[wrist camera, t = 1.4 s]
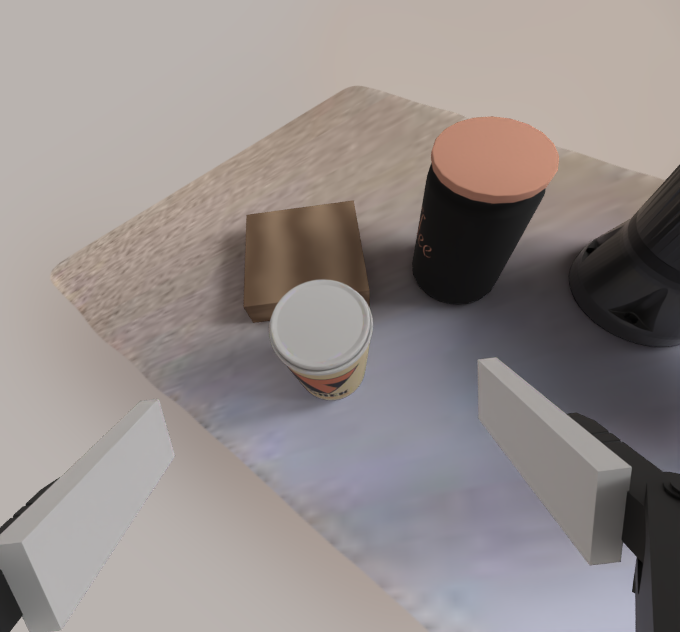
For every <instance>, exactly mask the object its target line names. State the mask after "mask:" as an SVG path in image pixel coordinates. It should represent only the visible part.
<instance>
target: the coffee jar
mask: <svg viewBox="0 0 680 632" xmlns="http://www.w3.org/2000/svg"><path fill="white" fill-rule="evenodd" d="M431 161H432V163H431V166H430V169H429V172H428V175H427V180H426V186H425V192H424V198H423V204H422V209H421V215H420V221H419V227H418V233H417V239H416V245H415V250H414V256H413V262H412V267H413V275H414V277H415V279H416V281H417V283H418V285H419V286H420V287H421V288H422V289H423V290H424V291H425V292H426V293H427V294H428V295H429V296H431V297H433V298H435V299H437V300H438V301H441V302H446V303H450V304H466V303H469V302H473V301H476V300H479V299H481V298H482V297H483V296H485V295H486V294H488V293H489V292H490V291H491V289H492V288H493V286H494V285H495V283H496V281H497V280H498V278H499V276H500V274H501V272H502V271H503V269H504V267H505V265H506V263H507V261H508V260H509V258H510V256H511V254H512V252H513V251H514V249H515V247H516V245H517V243H518V242H519V240H520V238H521V236H522V234H523V233H524V231H525V229H526V227H527V225H528V223H529V222H530V220H531V218H532V216H533V214H534V213H535V211H536V209H537V207H538V205H539V204H540V202H541V200H542V198H543V196H544V194H545V188H546V187H547V185H548V184H549V182H550V181H551V179H552V178H553V177H554V175H555V174H556V172H557V171H558V162H559V155H558V152H557V150H556V148H555V146H554V144H553V143H552V142H551V140H550V139H549V138H547V136H546V135H545V134H543V133H542V132H541V131H539V130H537V129H535V128H534V127H532V126H530V125H528V124H525V123H522V122H519V121H516V120H513V119H508V118H500V117H478V118H472V119H467V120H464V121H460V122H457V123H455V124H454V125H452V126H450V127H448V128H446V129H445V130H444V131H443V132H442V133H441V134H440V135H439V136H438V137H437V138H436V140H435V143H434V146H433V149H432V152H431Z"/></svg>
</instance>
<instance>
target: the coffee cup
mask: <svg viewBox="0 0 680 632" xmlns="http://www.w3.org/2000/svg"><path fill="white" fill-rule="evenodd" d="M372 332H373V319H372V314H371V311H370V308H369V306H368V304H367V302H366V301H365V300H364V298H363V297H362V296H361V295H360V294H359V293H358V292H357V291H355V290H354V289H352V288H351V287H349V286H348V285H346V284H343V283H341V282H338V281H333V280H313V281H309V282H305V283H303V284H300V285H298V286H296V287H294V288H293V289H291V290H290V291H289V292H287V293H286V294H285V295H284V296H283V297H282V298H281V299H280V301H279V302H278V304H277V305H276V307H275V309H274V311H273V314H272V316H271V319H270V324H269V337H270V341H271V345H272V347H273V349H274V351H275V353H276V355H277V356H278V357H279V358H280V360H281V361H282V362H283V363H285V364H286V365H287V367H288V368H289V369H290V370H291V372H292V373H293V374H294V375H295V376H296V378H297V379H298V380H299V381H300V382H301V384H302V385H303V386H304V387H305V388H306V389H307V390H308V391H309V392H310V393H311V394H313V395H314V396H316V397H318V398H321V399H324V400H338V399H342V398H345V397H347V396H349V395H350V394H352V393H353V392H354V391H355V390H356V389H357V388H358V387H359V386H360V384H361V382H362V380H363V378H364V374H365V369H366V363H367V357H368V351H369V344H370V340H371V336H372Z"/></svg>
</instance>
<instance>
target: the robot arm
mask: <svg viewBox="0 0 680 632" xmlns="http://www.w3.org/2000/svg"><path fill="white" fill-rule="evenodd" d="M569 281H570V287H571V291H572V293H573V295H574V298H575V299H576V301H577V303H578V304H579V306H580V307H581V308H582V310H583V311H584V312H585V313H586V314H587V315H588V316H589V317H590V318H591V319H592V320H593V321H594V322H596V323H597V324H598V325H599V326H601V327H602V328H604V329H605V330H607V331H609V332H610V333H612V334H614V335H616V336H618V337H620V338H623V339H625V340H628V341H631V342H634V343H638V344H642V345H648V346H659V347H664V346H674V345H679V344H680V165H679V166H678V167H677V168H676V169H675V171H674V172H673V173H672V174H671V175H670V176H669V177H668V178H667V179H666V181H665V182H664V183H663V184H662V185H661V186H660V187H659V188H658V189H657V190H656V191H655V193H654V194H653V195H652V196H651V197H650V198H649V199H648V200H647V201H646V202H645V203H644V205H643V206H642V207H641V208H640V209H639V210H638V211H637V213H636V214H635V215H634V216H633V217H632V218H631V219H629V220H627V221H626V222H624V223H622V224H620V225H619V226H617V227H615V228H613V229H612V230H610V231H608V232H607V233H605V234H603V235H601V236H600V237H598V238H596V239H594V240H593V241H592V242H590V243H589V244H588V245H587V246H586V247H585V248H584V249H583V250H582V251H581V253H580V254H579V255H578V256H577V258H576V259H575V260H574V262H573V264H572V266H571V269H570V274H569ZM478 419H479V420H480V422H481V423H482V424H483V426H484V427H485V428H486V429H487V431H488V432H489V433H490V435H491V436H492V437H493V439H494V440H495V441H496V443H497V444H498V445H499V447H500V448H501V449H502V451H503V452H504V453H505V455H506V456H507V457H508V458H509V460H510V461H511V462H512V464H513V465H514V466H515V468H516V469H517V470H518V472H519V473H520V474H521V476H522V477H523V478H524V480H525V481H526V482H527V483H528V485H529V486H530V487H531V489H532V490H533V491H534V493H535V494H536V495H537V497H538V498H539V499H540V501H541V502H542V503H543V505H544V506H545V507H546V509H547V510H548V511H549V512H550V514H551V515H552V516H553V518H554V519H555V520H556V522H557V523H558V524H559V526H560V527H561V528H562V530H563V531H564V532H565V534H566V535H567V536H568V538H569V539H570V540H571V541H572V543H573V544H574V545H575V547H576V548H577V549H578V551H579V552H580V553H581V555H582V556H583V557H584V559H585V560H586V561H587V563H588V564H589V565H598V564H606V563H614V562H621V554H622V546H623V542H624V543H625V544H626V546H627V547H628V548H629V549H630V550H631V551H632V552H633V553H634V554H635V555H636V556H637V559H636V567H635V574H634V581H633V589H632V592H634V593H635V603H636V632H680V474H678V473H672V472H662V471H661V470H660V469H658V468H657V467H656V466H654V465H653V464H652V463H650V462H649V461H648V460H646V459H645V458H644V457H642V456H641V455H640V454H638V453H637V452H636V451H634V450H633V449H632V448H630V447H629V446H628V445H626V444H625V443H624V442H620V439H618V438H617V437H616V436H614V435H613V434H612V433H609V431H608V430H606V429H605V428H604V427H602V426H601V425H600V424H598V423H597V422H596V421H594V420H592V419H590V418H587V417H585V416H583V415H581V414H578V413H570V414H566V413H564V412H563V411H562V410H561V409H559V408H558V407H557V406H556V405H554V404H553V403H552V402H551V401H550V400H548V399H547V398H546V397H545V396H543V395H542V394H541V393H540V392H538V391H537V390H536V389H535V388H533V387H532V386H531V385H530V384H529V383H527V382H526V381H525V380H524V379H522V378H521V377H520V376H519V375H517V374H516V373H515V372H514V371H513V370H511V369H510V368H509V367H508V366H506V365H505V364H504V363H503V362H501V361H500V360H499V359H498V358H496V357H494V358H486V359H478ZM174 457H175V454H174V451H173V447H172V444H171V440H170V437H169V433H168V429H167V426H166V422H165V419H164V415H163V412H162V408H161V404H160V401H159V399H152V400H144V401H140V402H139V403H138V404H137V405H136V406H135V407H133V408H132V409H131V410H130V411H129V412H128V413H127V414H126V415H125V416H124V417H123V418H122V419H121V420H120V421H119V422H118V423H117V424H116V425H115V426H114V427H113V428H111V429H110V430H109V431H108V432H107V433H106V434H105V435H104V436H103V437H102V438H101V439H100V440H99V441H98V442H97V443H96V444H95V445H94V446H93V447H91V449H89V450H88V451H87V452H86V453H85V454H84V455H83V456H82V457H81V458H80V459H79V460H78V461H77V462H76V463H75V464H74V465H73V466H72V467H71V468H69V469H68V470H67V471H66V472H65V473H64V474H63V475H62V476H61V477H59V478H58V479H56V480H55V481H53V482H52V483H50V484H49V485H47V486H46V487H44V488H43V489H41V490H40V491H39V492H38V493H37V494H36V495H35V496H34V497H33V498H31V499H30V500H29V501H28V502H27V503H26V506H24V507H22V508H21V509H20V510H19V511H17V512H16V513H15V514H14V516H13V518H10V519H9V520H8V521H7V522H6V523H5V524H3V526H1V528H0V632H10V631H11V630H12V628H13V627H14V626H15V624H16V623H17V622H18V621H19V619H20V618H21V617H23V619H24V621H25V623H26V626H27V628H28V630H29V632H51V631H59V630H62V629H63V627H64V626H65V624H66V623H67V621H68V619H69V618H70V616H71V615H72V613H73V612H74V610H75V609H76V607H77V606H78V604H79V603H80V601H81V600H82V598H83V596H84V595H85V593H86V592H87V590H88V589H89V587H90V586H91V584H92V582H93V581H94V580H95V578H96V577H97V575H98V574H99V572H100V570H101V569H102V567H103V566H104V564H105V563H106V561H107V560H108V558H109V557H110V555H111V553H112V552H113V551H114V549H115V547H116V546H117V544H118V543H119V541H120V540H121V538H122V537H123V535H124V534H125V532H126V531H127V529H128V528H129V526H130V525H131V523H132V521H133V520H134V518H135V517H136V515H137V513H138V512H139V511H140V509H141V508H142V506H143V505H144V503H145V501H146V500H147V498H148V497H149V495H150V494H151V492H152V491H153V489H154V488H155V486H156V485H157V483H158V482H159V480H160V478H161V477H162V475H163V473H164V472H165V471H166V469H167V468H168V466H169V465H170V463H171V462H172V460H173V459H174Z"/></svg>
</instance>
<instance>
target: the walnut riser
mask: <svg viewBox="0 0 680 632" xmlns="http://www.w3.org/2000/svg"><path fill="white" fill-rule="evenodd" d="M313 280H333V281H338V282H341V283H343V284H346V285H348V286H349V287H351V288H352V289H354V290H355V291H357V292H358V293H359V294H360V295H361V296H362V297H363V298H364V300H365V301H366V302H367V304H368V306H369V308H370V299H369V285H368V279H367V274H366V268H365V262H364V257H363V251H362V245H361V240H360V234H359V228H358V223H357V217H356V211H355V206H354V201H346V202H339V203H332V204H324V205H317V206H309V207H302V208H294V209H287V210H280V211H272V212H265V213H257V214H250V215H247V219H246V249H245V278H244V309H245V310H246V312H247V313H248V315H249V317H250V318H251V320H252V321H253V323H255V322H263V321H270V319H271V316H272V314H273V311H274V309H275V307H276V305H277V304H278V302H279V301H280V299H281V298H282V297H283V296H284V295H285V294H286V293H287V292H289V291H290V290H291V289H293V288H294V287H296V286H298V285H300V284H303V283H305V282H309V281H313Z"/></svg>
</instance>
